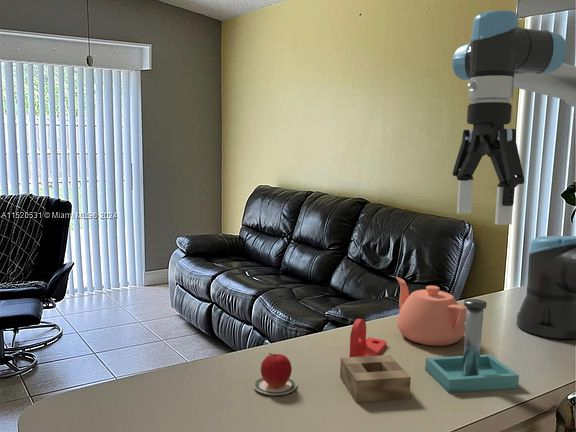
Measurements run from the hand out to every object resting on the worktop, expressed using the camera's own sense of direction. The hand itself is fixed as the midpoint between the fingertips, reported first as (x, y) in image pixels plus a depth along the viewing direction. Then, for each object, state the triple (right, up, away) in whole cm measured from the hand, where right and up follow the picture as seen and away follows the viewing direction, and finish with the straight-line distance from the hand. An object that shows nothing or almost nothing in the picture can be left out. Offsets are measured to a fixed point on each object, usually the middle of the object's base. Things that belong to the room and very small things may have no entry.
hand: (482, 218), depth 100 cm
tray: (-1, -31, +4) cm, 31 cm away
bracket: (-19, -29, +17) cm, 38 cm away
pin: (-1, -30, +4) cm, 31 cm away
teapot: (-3, -28, +27) cm, 39 cm away
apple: (-39, -31, -1) cm, 50 cm away
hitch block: (-20, -31, 0) cm, 37 cm away
